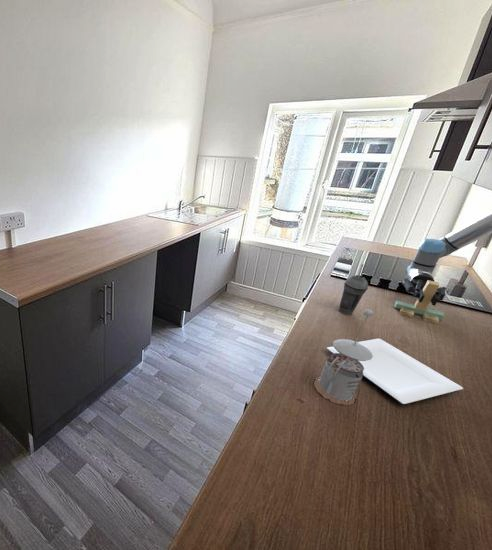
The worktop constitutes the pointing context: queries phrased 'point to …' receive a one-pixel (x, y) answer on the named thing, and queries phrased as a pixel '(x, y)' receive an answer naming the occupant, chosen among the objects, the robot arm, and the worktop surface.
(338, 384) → the french press
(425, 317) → the crust
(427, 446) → the worktop surface
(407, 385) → the plate
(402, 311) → the crust
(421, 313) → the wiper
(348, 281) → the beverage cup
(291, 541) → the worktop surface
